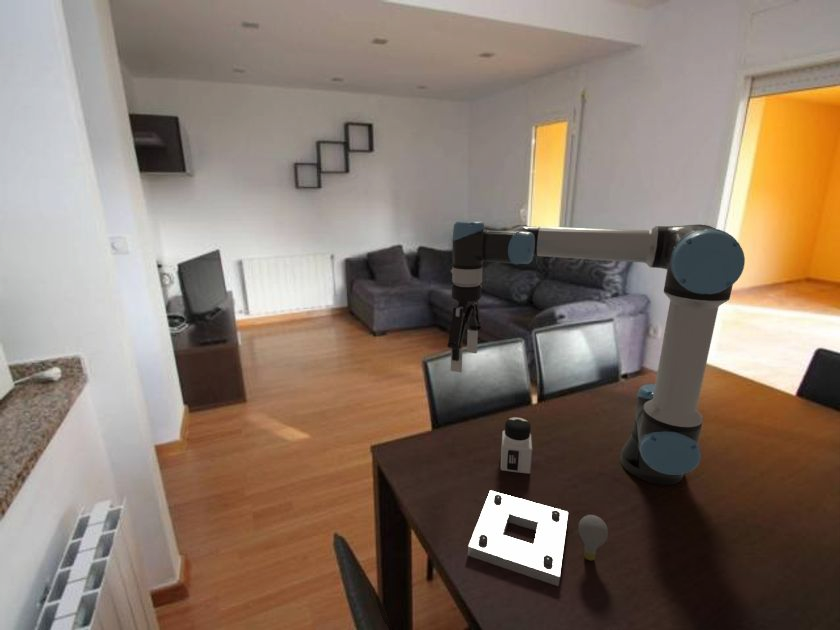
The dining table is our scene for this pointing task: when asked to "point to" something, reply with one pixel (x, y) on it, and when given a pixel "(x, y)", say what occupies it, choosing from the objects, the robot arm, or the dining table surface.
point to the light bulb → (592, 534)
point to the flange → (514, 553)
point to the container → (516, 446)
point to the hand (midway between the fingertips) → (464, 361)
